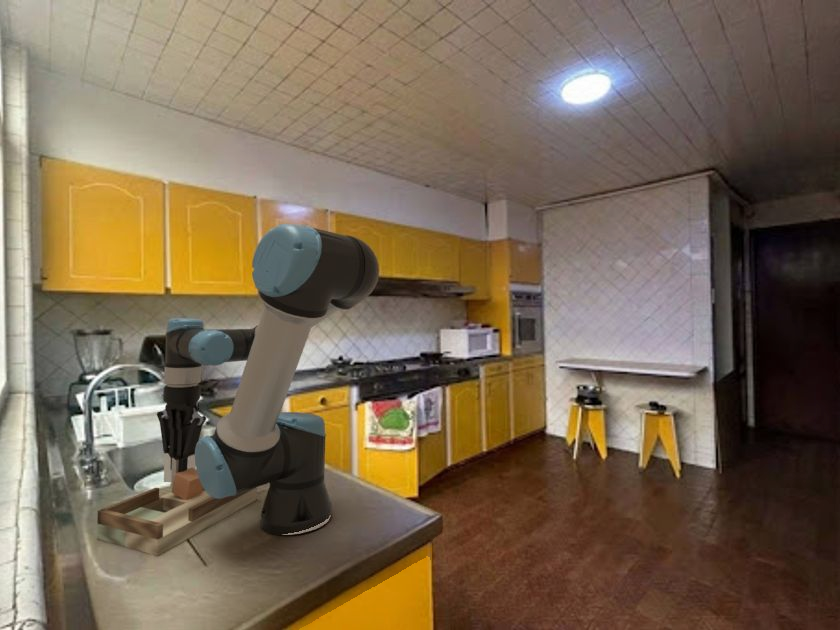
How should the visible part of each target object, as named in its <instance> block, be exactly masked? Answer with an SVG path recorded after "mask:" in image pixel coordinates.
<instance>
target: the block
mask: <svg viewBox="0 0 840 630" xmlns="http://www.w3.org/2000/svg"><path fill="white" fill-rule="evenodd" d="M202 491H203V487H202V485H201V482H200V480H199V477H198V474H197V470H196V469H194V468H189V469H187V470H185V471H183V472H179V473H176V474H175V478H174V483H173V487H171V492H172V493H174V494H175V495H177V496H179V497H181V498H183V499H184V500H187V499H189V498H191V497H193V496H196V495H198V494H200V493H202Z"/></svg>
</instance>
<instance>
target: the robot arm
mask: <svg viewBox="0 0 840 630" xmlns="http://www.w3.org/2000/svg"><path fill="white" fill-rule="evenodd" d="M251 261H252V264H251V267H252V268H253V270H252V272H251V275H252V280H253V281H252V282H253V283H254V285H255V287H256V289H257V290H258V298H259V300H260V301H261V303H262V304H263V305H264V307H263V310H262V313H261V316H260V320H259V322H258V324H257V325H256V326H254V327H252V328H236V329H233V328H229V329H228V328H225V329H222V328H220V329H206V328H205V327H204V326H205V325H204V321H203V320H202V319H200V318H187V317H186V318H185V317H183V318H182V317H176V318H175V317H173V318H170V319H168V321H167V324H166V331H165V355H164V356H165V359H164V360H165V361H164V362H165V364H164V374H163V383H164V384H165V385H164V387H163V395H162V396H163V397H162V399H163V402H164V403H166V404H165V408H164V409H163V410H161V411H158V412H157V413H156V416H157V418H158V422H159V426H160V434H161V435H160V436H161V442H162V449H163V453H165V454H166V453H168V454H169V456H170V457H171V464H170V465H171V466H170V469H171V470H172V472H171V482H170V487H171V488H172V487H173V483H174V478H175V474H176V473H179V472H183V471H185V470H187V464H188V457H189V456H192V455H194V454H195V464H196V470H197V474H198V477H199V480H200V482H201V485H202V487H203V488H204V490H205V491H206V493H207V494H208V495H209V496H211V497H213V498H218V499H220V498H224V497H228V496H235V495H236V494H239V493H241V492H244V491H247V490H250V489H253V488H256V487H257V488H258V487H261V486H264V485H267V484H269V487H268V491H267V493H266V496H265V499H264V502H263V504H262V507H261V510H260V521H259V522H260V527H261V529H262V530H263V531H265V532H266V533H269V534H271V535H277V536H283V535H282V534H288V533H294V532H299V531H302V530H306V529H309V528H311V527H314V526H316V525H318V524H320V523H322V522H324V521H325V520H326V519H328V518H329V516H330V515H331V512H332V513H333V506H332V502H331V499H330V496H329V492H328V489H327V486H326V482H325V464H326V462H325V458H326V457H325V455H326V437H327V434H326V425H325V424H326V423H325V420H324V418H323V417H321V416H320V415H319V414H318V415H317V414H313V413H309V412H298V411H297V412H296V411H284V412H283V411H282V408H283V406H284V403H285V401H286V398H287V395H288V393H289V390H290V388H291V384H292V381H293V380H294V376H295V374H296V370H297V368H298V366H299V362H300V360H301V357H302V355H303V351H304V349H305V346H306V344H307V341H308V339H309V338H308V337H309V335H310V332H311V330H312V328H313V327H315V326H316V325H318V324H320V323H321V322H322V321H324V320H326V319H327V318H329V317H330V316H332V315H333V314H336V312H338V311H340V310H342V311H348V310H351V309H352V308H353V307H354V308H355V306H357V305H359V304H360V303H361V302H363V301H364V300H365V299H366V298H368V297H369V295H371V294H372V293H373V291H374V289H375V287H376V286H377V283H378V282H379V275H380V265H379V261H378V257H377V256H376V254H375V252H374V249H372V248H371V247H370V246H369V244H367V243H366V242H365V241H363V240H361V239H360V238H357V237H355V236H351V235H346V234H345V235H344V234H340V233H337V232H332V231H329V230H325V229H319V228H316V227H311V226H309V225H305V224H304V225H303V224H301V225H299V224H291V223H282V224H278V225H276V226H274V227H273V228H271V229H269V230H268V231H267V232H266V233H265V234H264V235H263V236H262V237H261V239H260V241H259V243H257V245H256V248H255V251H254V254H253V257H252V260H251ZM244 361H245V365H244V369H243V372H242V375H241V378H240V380H239V384H238V387H237V390H236V394H235V397H234V400H233V402H232V405H231V408H230V412H228V413H226V414H225V415H223V416H221V418H220V419H219V420H218V421H217V424H216V427H215V431H214V434H212V435H205V436H204V437H202V438H200V437H201V432H202V430H203V425H204V423H205V422H206V421H207V417H206V416H205V415H202V416H201V414H200V413H199V408H198V401H200V399H201V387H202V386H201V384H199V383H201V380H202V365H203V366H208V367H209V366H212V367H213V366H220V365H223V364H225V363H232V362H233V363H235V362H244ZM281 411H282V412H281Z"/></svg>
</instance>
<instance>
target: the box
mask: <svg viewBox="0 0 840 630" xmlns="http://www.w3.org/2000/svg"><path fill="white" fill-rule="evenodd" d="M257 488H258V487H256V488H253V489H250V490H247V491H244V492H241V493H239V494H236V495H235V496H228V497H224V498H220V499H218V498H213V497H211V496H209V495H208V494H207V493H206V491H205V490H204V488H203V491H202V493H200V494H198V495H196V496H193V497H191V498H189V499H187V500H184V499H183V498H181V497H179V496H177V495H175V494H174V493H172V491H170V492H168V493H166V494H163V495H160V488H159V487H154V488H151V489H148V490H146V491H144V492H141V493H139V494H136V495H134V496H132V497H129V498H127V499H124V500H121V501H119V502H117V503H114V504H112V505H109V506H106V507H105V508H102V509H99V510H97V523H96V525H97V527H96V528H97V529H96V530H97V531H96V532H97V533H96V539H97V540H100V541H104V542H108V543H111V544H114V545H117V546H121V547H125V548H127V549H132V550H136V551H138V552H143V553H146V554H148V555H153V556H156V557H159V556H161V554H163V553H165V552H167V551H169V550H170V549H172V548H174V547H177V546H178V545H179V544H181V543H183V542H185V541H186V540H188V539H190V538H192V537H194V536H196V535H198V534H199V533H200V532H202V531H204V530H206V529H208V528H210V527H211V526H213V525H215V524H216V523H218V522H220V521H222V520H223V519H225V518H227V517H229V516H231V515H232V514H233V513H236V512H237V511H239V510H241V509H242V508H244V507H246V506H248V505H250V504H252V503H253V502H255V501H257V494H258V493H257V492H258V491H257V490H258V489H257Z"/></svg>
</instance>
